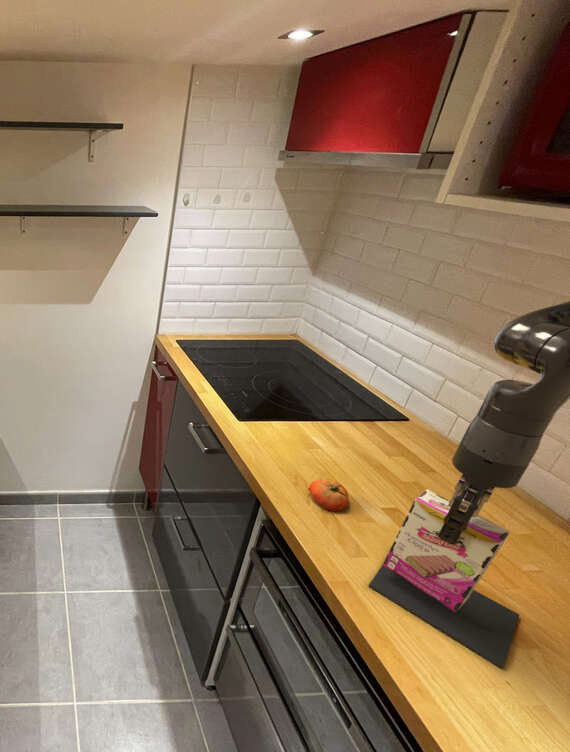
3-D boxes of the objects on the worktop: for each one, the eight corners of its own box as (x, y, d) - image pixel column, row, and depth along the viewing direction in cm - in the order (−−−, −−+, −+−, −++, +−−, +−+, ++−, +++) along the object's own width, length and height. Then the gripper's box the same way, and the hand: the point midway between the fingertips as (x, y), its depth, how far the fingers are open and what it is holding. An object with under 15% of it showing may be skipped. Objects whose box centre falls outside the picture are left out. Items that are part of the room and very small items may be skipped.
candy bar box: (380, 566, 82) (413, 497, 75) (393, 554, 84) (425, 487, 78) (456, 615, 73) (501, 543, 67) (468, 601, 76) (512, 529, 69)
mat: (517, 616, 76) (519, 614, 76) (501, 669, 69) (503, 667, 68) (393, 548, 89) (394, 546, 89) (368, 586, 81) (369, 584, 81)
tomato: (310, 503, 98) (319, 472, 100) (299, 502, 105) (307, 473, 106) (350, 518, 96) (358, 486, 98) (336, 517, 103) (344, 486, 104)
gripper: (474, 421, 73) (434, 500, 80) (451, 453, 65) (409, 538, 72) (538, 443, 68) (490, 525, 75) (522, 481, 60) (469, 570, 67)
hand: (450, 531), depth 74 cm, fingers closed on candy bar box, 5 cm apart
